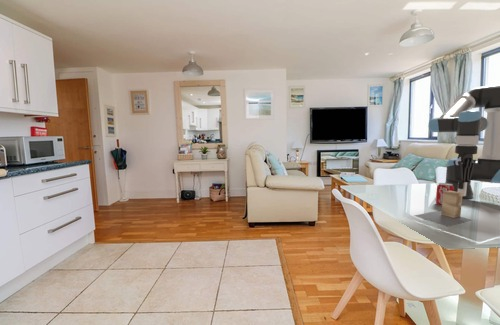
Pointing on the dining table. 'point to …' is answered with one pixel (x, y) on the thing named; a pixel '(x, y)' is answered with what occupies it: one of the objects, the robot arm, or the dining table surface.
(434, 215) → the mat
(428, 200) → the dining table surface
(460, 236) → the dining table surface
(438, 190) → the soda can
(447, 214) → the oak block
